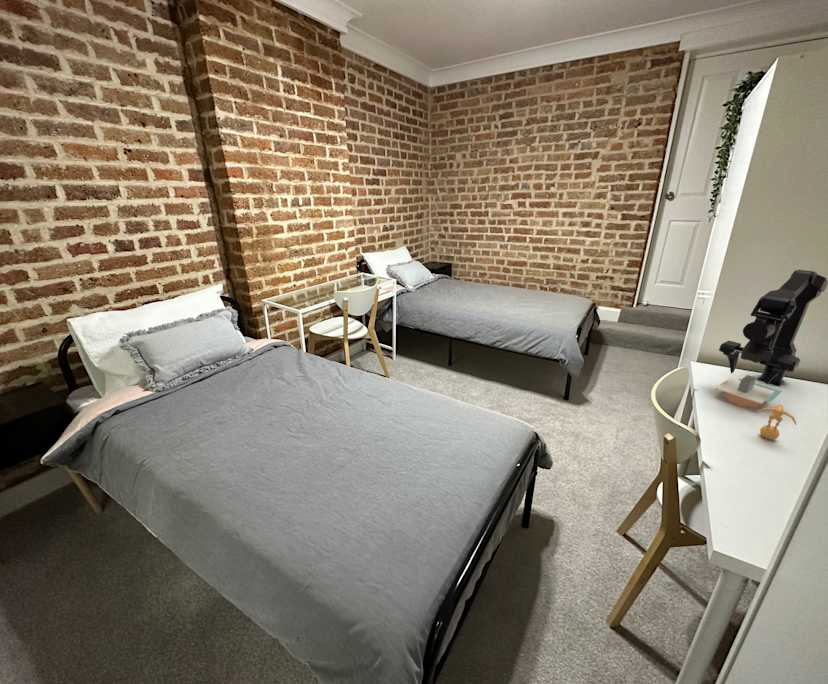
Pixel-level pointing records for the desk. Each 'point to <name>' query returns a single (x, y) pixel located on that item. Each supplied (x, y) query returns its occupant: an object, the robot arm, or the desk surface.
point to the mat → (776, 392)
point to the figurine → (772, 431)
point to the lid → (746, 389)
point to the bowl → (740, 400)
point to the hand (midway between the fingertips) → (749, 378)
